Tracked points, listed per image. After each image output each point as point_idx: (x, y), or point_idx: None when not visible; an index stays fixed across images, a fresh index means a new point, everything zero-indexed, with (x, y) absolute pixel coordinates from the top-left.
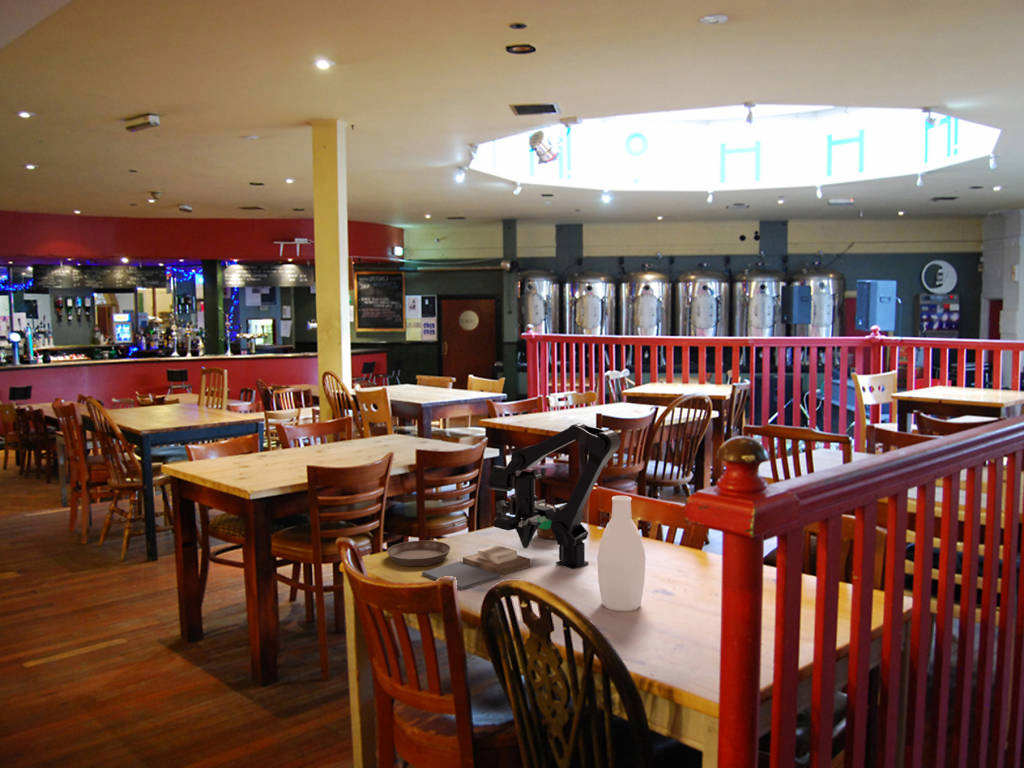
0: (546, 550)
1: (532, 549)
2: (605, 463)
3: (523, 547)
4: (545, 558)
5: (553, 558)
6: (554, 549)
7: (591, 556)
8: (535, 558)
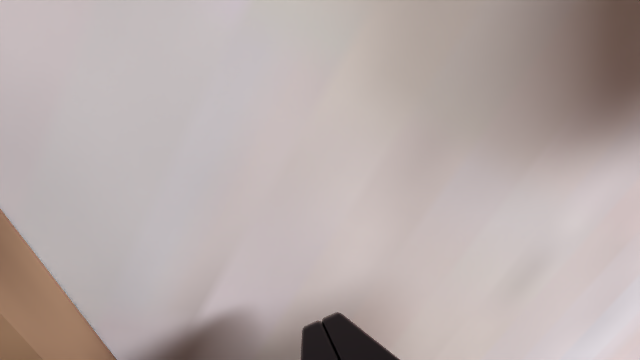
0: (564, 150)
1: (500, 55)
2: None
3: (305, 335)
4: (411, 336)
5: (455, 346)
6: (624, 151)
7: (629, 351)
8: None
